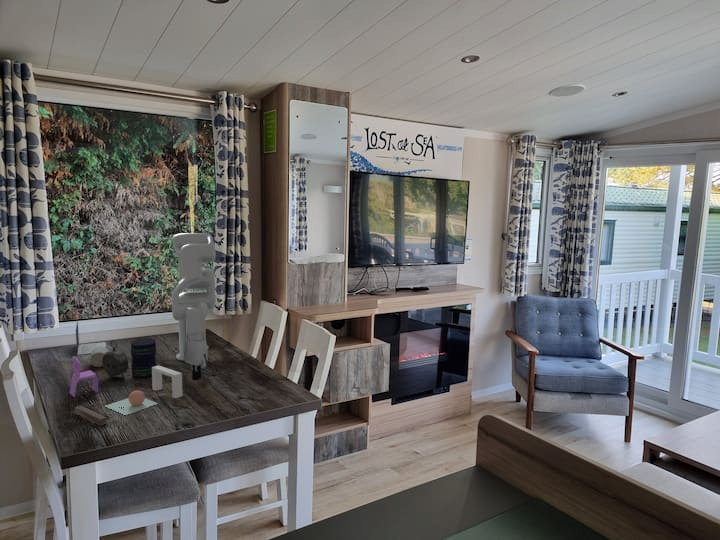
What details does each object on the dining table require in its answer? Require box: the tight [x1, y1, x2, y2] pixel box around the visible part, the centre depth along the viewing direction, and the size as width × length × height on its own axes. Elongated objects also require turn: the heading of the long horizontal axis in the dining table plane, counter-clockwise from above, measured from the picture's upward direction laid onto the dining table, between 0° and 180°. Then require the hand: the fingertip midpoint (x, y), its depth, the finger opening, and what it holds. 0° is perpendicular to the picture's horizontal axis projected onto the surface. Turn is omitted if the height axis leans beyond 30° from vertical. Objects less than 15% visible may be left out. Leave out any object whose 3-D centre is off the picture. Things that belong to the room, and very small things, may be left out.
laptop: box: [75, 320, 107, 356], centre depth 249 cm, size 18×12×13 cm
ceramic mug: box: [89, 347, 110, 368], centre depth 227 cm, size 11×8×8 cm
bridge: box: [151, 364, 183, 399], centre depth 196 cm, size 3×14×9 cm, turn 56°
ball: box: [128, 390, 146, 406], centre depth 184 cm, size 6×6×6 cm
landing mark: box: [104, 397, 159, 416], centre depth 184 cm, size 13×13×1 cm
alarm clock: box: [102, 340, 129, 380], centre depth 210 cm, size 11×5×16 cm, turn 65°
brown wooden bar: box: [74, 405, 107, 426], centre depth 172 cm, size 2×16×2 cm, turn 56°
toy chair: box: [68, 356, 99, 398], centre depth 194 cm, size 8×9×15 cm
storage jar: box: [130, 338, 158, 381], centre depth 214 cm, size 10×10×15 cm
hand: (196, 379), depth 208 cm, fingers closed
